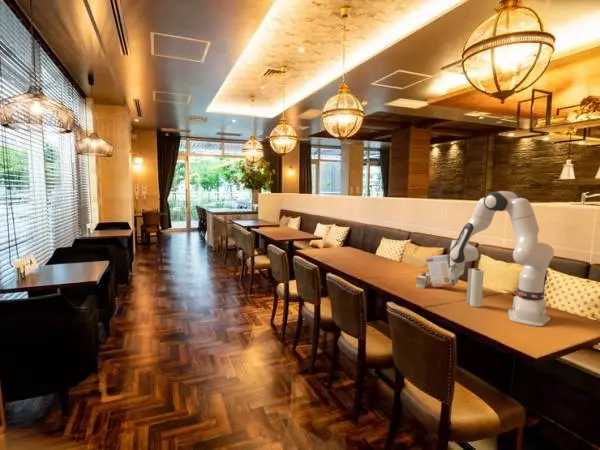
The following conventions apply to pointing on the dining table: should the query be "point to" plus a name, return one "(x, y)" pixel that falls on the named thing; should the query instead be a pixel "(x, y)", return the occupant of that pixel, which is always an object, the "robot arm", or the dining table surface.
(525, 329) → the dining table surface
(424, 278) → the stop block
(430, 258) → the cracker box
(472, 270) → the paper towel roll
